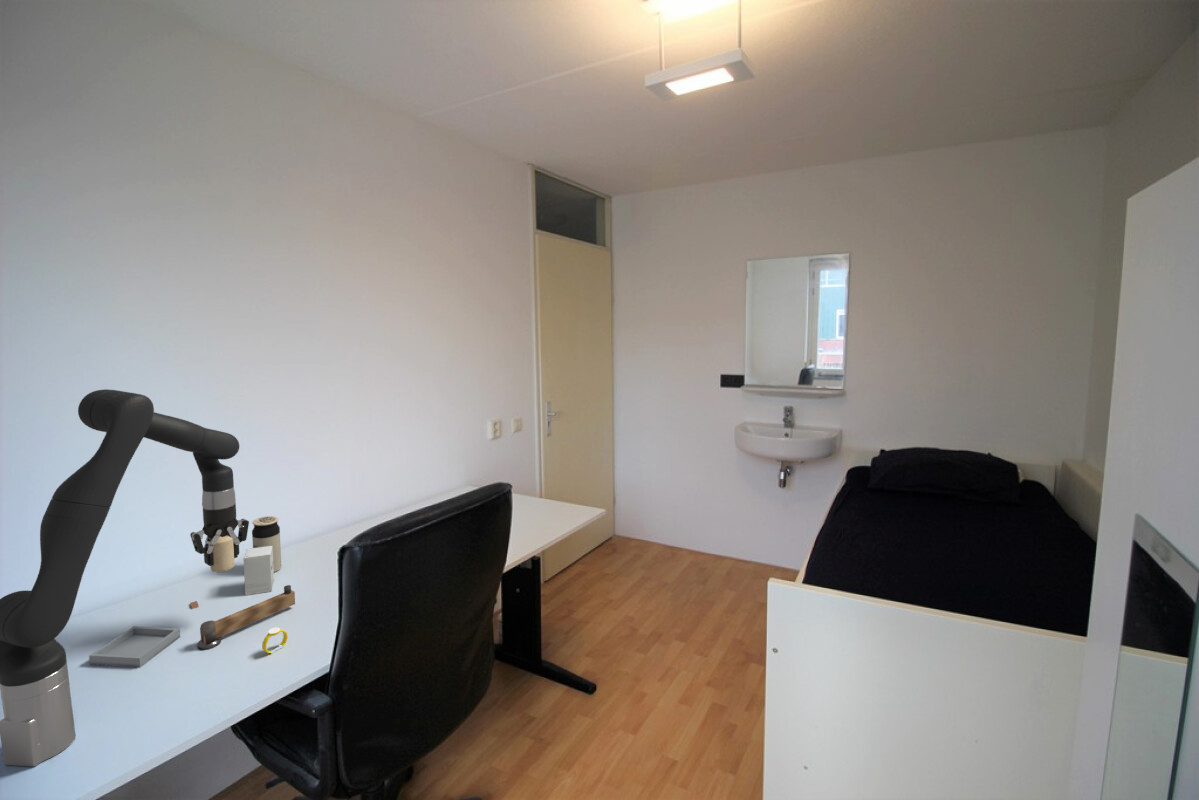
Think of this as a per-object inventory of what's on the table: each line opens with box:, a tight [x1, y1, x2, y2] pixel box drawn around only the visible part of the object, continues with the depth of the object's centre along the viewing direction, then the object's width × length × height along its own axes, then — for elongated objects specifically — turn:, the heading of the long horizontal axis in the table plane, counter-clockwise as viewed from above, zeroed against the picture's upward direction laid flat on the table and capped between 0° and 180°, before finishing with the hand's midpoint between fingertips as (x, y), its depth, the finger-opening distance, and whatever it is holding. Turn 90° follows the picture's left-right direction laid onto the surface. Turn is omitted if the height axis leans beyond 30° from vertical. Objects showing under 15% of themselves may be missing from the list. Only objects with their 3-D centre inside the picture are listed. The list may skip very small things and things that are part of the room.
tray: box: [88, 625, 181, 668], centre depth 139 cm, size 13×13×2 cm
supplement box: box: [243, 546, 275, 596], centre depth 170 cm, size 7×7×13 cm
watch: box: [261, 626, 288, 654], centre depth 141 cm, size 6×3×6 cm, turn 152°
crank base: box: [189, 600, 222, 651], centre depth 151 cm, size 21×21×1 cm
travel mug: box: [251, 515, 282, 573], centre depth 182 cm, size 8×8×18 cm
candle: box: [210, 535, 235, 573], centre depth 150 cm, size 6×6×10 cm
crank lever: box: [199, 584, 296, 644], centre depth 151 cm, size 24×3×6 cm, turn 149°
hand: (222, 560), depth 150 cm, fingers closed on candle, 5 cm apart
